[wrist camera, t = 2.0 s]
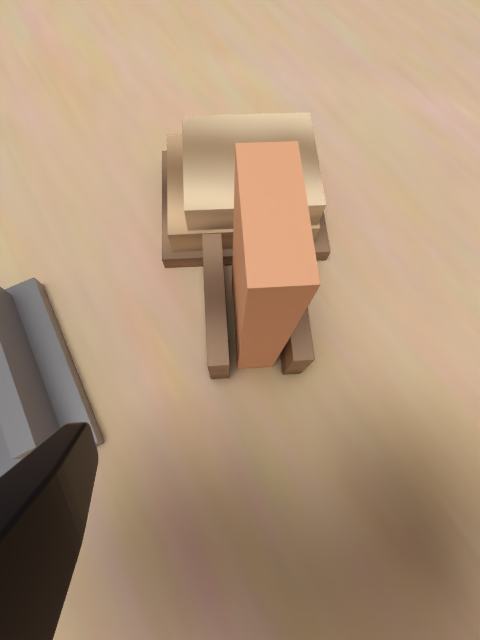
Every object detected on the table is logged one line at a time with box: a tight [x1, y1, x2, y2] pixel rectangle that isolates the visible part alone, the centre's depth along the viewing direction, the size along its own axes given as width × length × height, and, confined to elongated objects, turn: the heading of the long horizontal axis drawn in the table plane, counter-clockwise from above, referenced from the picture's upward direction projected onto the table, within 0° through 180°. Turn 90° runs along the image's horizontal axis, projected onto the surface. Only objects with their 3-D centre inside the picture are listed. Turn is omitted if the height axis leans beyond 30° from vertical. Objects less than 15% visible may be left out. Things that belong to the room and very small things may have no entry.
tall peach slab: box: [232, 141, 320, 369], centre depth 16 cm, size 5×2×11 cm, turn 4°
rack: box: [162, 113, 330, 379], centre depth 20 cm, size 15×10×5 cm, turn 4°
